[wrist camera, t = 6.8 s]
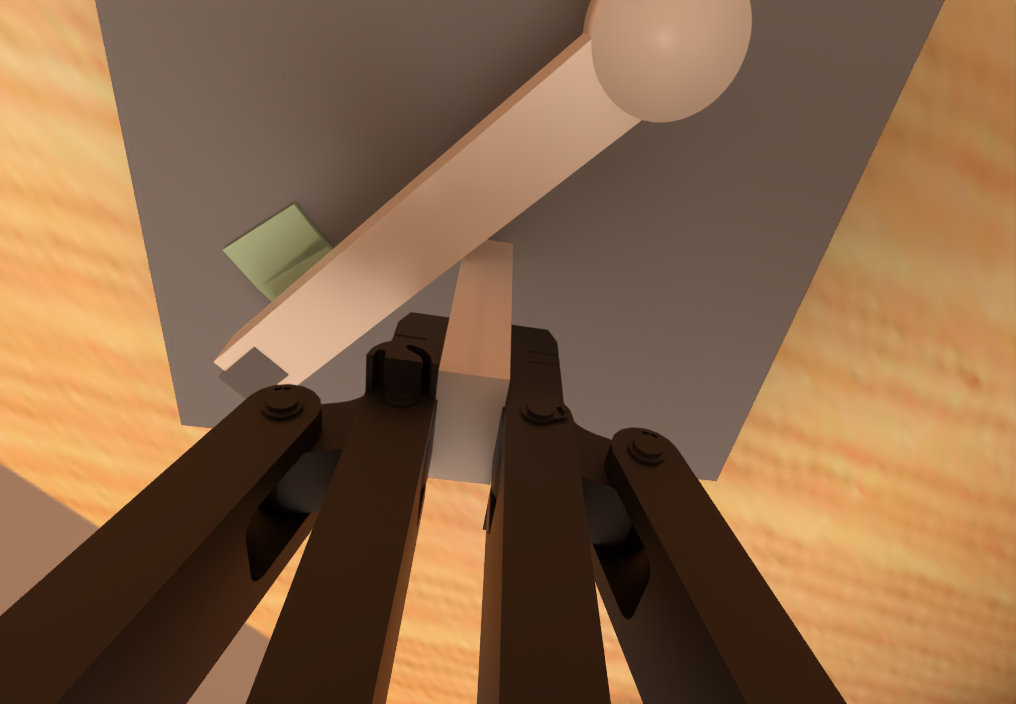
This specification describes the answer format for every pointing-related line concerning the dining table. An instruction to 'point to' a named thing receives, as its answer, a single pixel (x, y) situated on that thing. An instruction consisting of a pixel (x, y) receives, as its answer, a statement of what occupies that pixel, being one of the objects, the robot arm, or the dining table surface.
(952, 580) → the dining table surface
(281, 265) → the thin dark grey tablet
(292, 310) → the knob-ended beige rod
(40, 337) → the dining table surface
